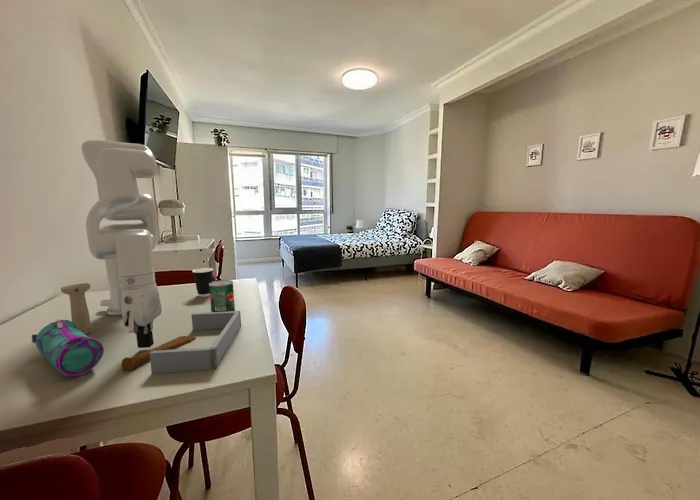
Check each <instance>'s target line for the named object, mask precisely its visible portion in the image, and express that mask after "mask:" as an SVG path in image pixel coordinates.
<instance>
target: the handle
mask: <svg viewBox="0 0 700 500" xmlns="http://www.w3.org/2000/svg"><path fill="white" fill-rule="evenodd" d="M90 289H91V283H88V282H87V283H86V282H85V283H76V284H71V285H69V284H68V285H65V286H62V287H60V292H61V293H63V294H65V295H67V296H68V297H69V303H70V315H71V321H72V322H74V323H75V324H76V325H77V327H78V330H80V331H81V332H83V333H84V334H85V335H86V336H87V335H88V334H90V333H91V328H90V327H91V319H90V318H91V317H90V313H89V312H90V311H89V307H88V305H87V300H86V292H87V291H89V290H90Z"/></svg>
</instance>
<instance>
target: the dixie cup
mask: <svg viewBox="0 0 700 500" xmlns="http://www.w3.org/2000/svg"><path fill="white" fill-rule="evenodd" d="M213 271H214V269H213V268H212V267H201V268H195V269H192V274H193V278H194V283H195V288H196V291H197V294H198V297H200V298H202V297H203V298H205V297H210V291H209V283H211V282H213Z"/></svg>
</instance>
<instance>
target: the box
mask: <svg viewBox="0 0 700 500" xmlns="http://www.w3.org/2000/svg"><path fill="white" fill-rule="evenodd" d="M190 315H191V326H192V327H191V328H192V331H202V330H218V329H222V331H221V332H220V333H219V335H218V337H217V338H216V339H215V340H214V342H213V343H212V345H211V346H209V347H208V346H207V347H197V348H196V347H191V348H176V349H173V350H157V351H151V352H150V353H149V354H150V360H149V363H150V371H151V374H165V373H178V372H179V373H180V372H195V371H206V370H209V371H210V370H217V368H218V367H219V366H220V363H221V361H222V360H223V358H224V357H225V354H227V351H228V349H229V348H230V346H231V344H232V343H233V341H234V340H235V338H236V336H237V335H238V332H239V330H240V329H241V327H242V319H241V311H240V310H237V311H236V310H235V311H230V312H211V311H210V312H194V313H193V312H192V313H191V314H190Z"/></svg>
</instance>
